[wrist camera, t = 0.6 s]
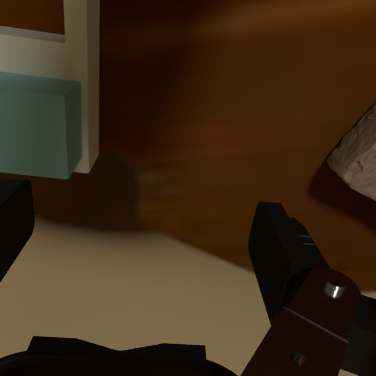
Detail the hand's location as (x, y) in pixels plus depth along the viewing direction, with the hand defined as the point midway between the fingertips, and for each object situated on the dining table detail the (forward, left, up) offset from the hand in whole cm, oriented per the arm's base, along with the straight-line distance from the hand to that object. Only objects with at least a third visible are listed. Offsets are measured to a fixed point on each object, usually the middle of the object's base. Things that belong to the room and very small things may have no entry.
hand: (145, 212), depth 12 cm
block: (+2, -9, -15) cm, 18 cm away
